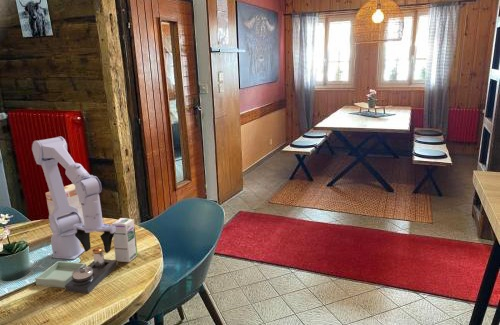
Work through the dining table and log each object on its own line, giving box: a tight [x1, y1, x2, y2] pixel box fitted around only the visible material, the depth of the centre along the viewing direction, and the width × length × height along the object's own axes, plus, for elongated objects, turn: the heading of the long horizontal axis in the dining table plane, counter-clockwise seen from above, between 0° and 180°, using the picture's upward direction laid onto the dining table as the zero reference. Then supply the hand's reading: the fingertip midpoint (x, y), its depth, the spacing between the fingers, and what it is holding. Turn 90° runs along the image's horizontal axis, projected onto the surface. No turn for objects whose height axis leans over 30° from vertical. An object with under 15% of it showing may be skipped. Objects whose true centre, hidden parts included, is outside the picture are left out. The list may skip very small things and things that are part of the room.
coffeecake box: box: [45, 183, 84, 223], centre depth 161 cm, size 15×7×20 cm, turn 150°
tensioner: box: [64, 258, 118, 294], centre depth 127 cm, size 8×17×6 cm, turn 168°
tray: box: [34, 260, 87, 289], centre depth 128 cm, size 11×11×2 cm
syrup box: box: [111, 217, 138, 263], centre depth 138 cm, size 6×6×14 cm
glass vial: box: [92, 246, 105, 269], centre depth 131 cm, size 3×3×8 cm
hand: (97, 250), depth 130 cm, fingers open, 7 cm apart
